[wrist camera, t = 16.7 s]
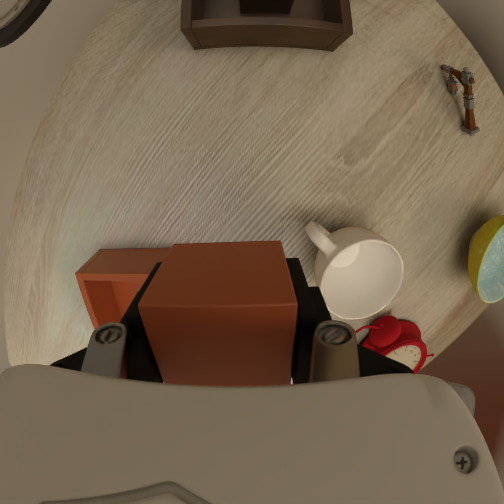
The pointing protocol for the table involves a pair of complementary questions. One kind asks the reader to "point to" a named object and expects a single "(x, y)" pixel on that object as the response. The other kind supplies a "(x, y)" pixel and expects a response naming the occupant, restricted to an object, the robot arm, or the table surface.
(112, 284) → the terracotta bin
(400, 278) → the cup
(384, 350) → the alarm clock
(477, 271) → the bowl
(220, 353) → the terracotta block
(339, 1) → the walnut bin
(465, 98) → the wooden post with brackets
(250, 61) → the table surface
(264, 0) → the walnut block
